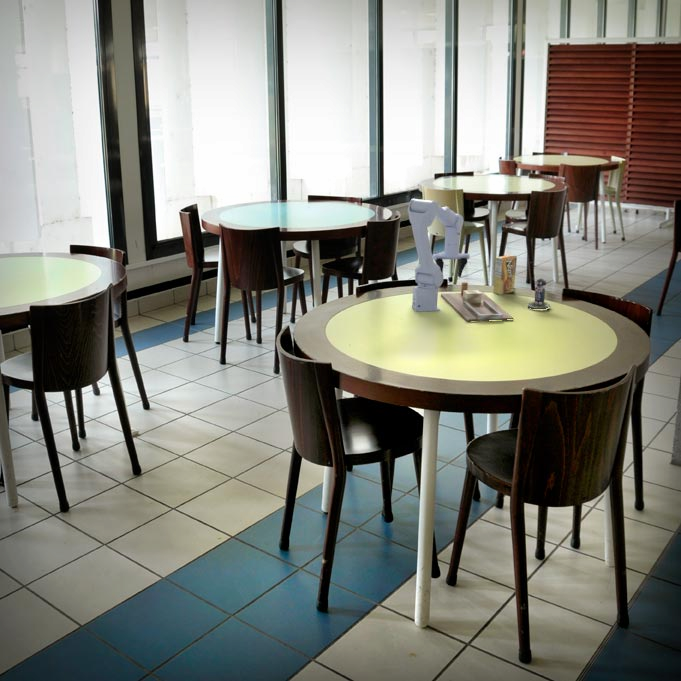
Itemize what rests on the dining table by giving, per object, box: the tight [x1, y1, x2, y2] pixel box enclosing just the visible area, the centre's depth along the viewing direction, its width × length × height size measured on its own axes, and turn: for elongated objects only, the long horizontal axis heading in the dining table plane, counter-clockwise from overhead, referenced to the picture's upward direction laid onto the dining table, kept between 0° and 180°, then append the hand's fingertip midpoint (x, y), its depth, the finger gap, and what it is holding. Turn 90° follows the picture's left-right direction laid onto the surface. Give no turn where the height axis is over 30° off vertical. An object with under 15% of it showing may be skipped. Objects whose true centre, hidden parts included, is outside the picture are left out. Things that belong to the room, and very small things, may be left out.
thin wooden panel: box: [440, 292, 514, 323], centre depth 331 cm, size 18×36×2 cm, turn 9°
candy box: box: [492, 254, 518, 296], centre depth 351 cm, size 9×4×15 cm, turn 129°
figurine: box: [527, 278, 551, 310], centre depth 330 cm, size 8×8×12 cm
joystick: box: [460, 281, 483, 304], centre depth 339 cm, size 6×14×5 cm, turn 9°
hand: (450, 276), depth 339 cm, fingers open, 7 cm apart
